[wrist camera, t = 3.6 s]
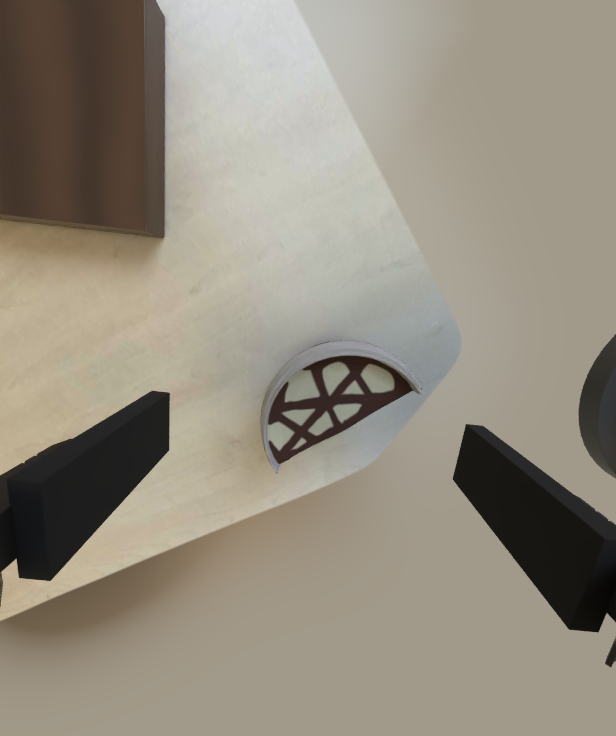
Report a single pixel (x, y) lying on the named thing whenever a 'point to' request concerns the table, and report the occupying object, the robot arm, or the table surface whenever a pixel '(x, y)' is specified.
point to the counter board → (82, 114)
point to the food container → (328, 394)
